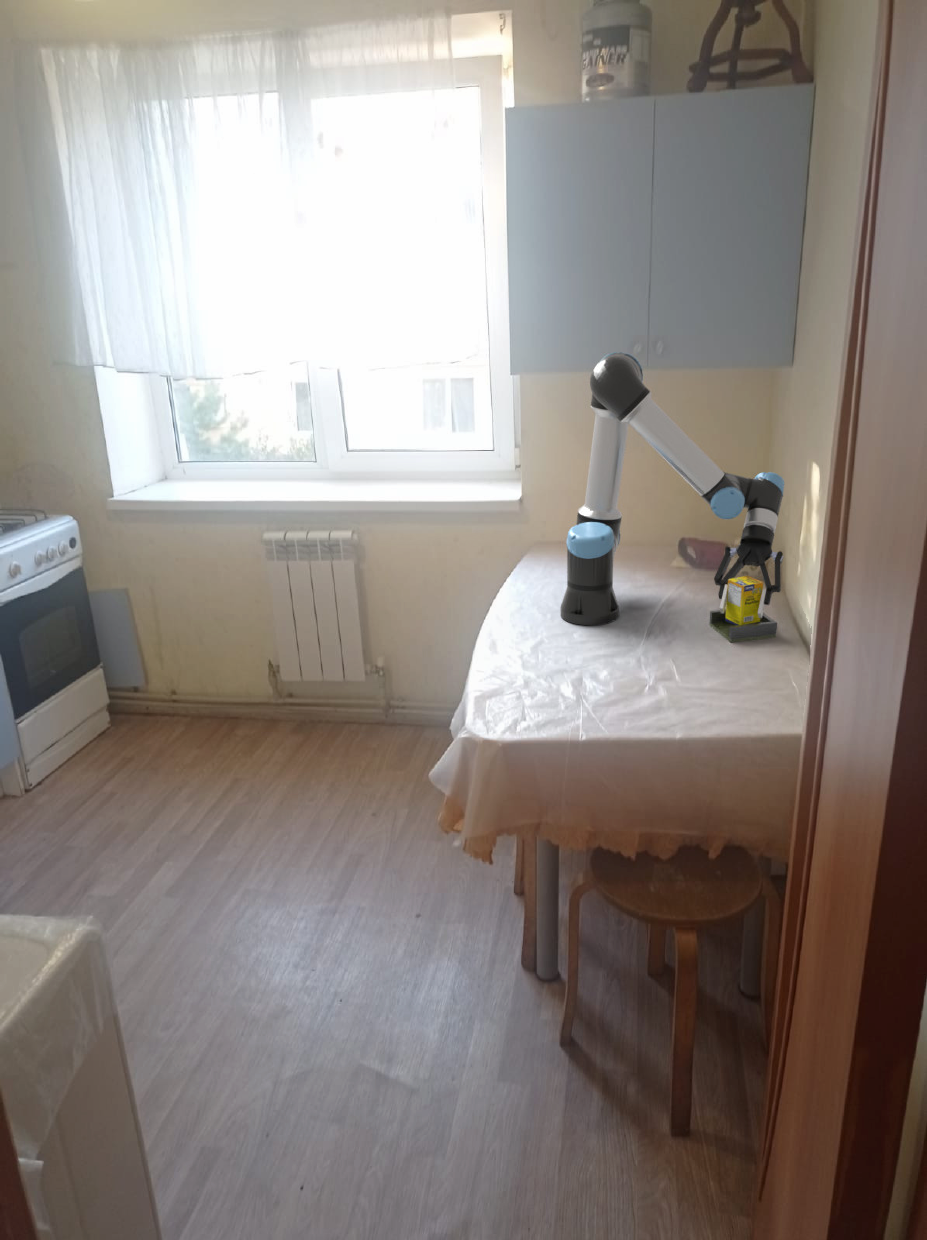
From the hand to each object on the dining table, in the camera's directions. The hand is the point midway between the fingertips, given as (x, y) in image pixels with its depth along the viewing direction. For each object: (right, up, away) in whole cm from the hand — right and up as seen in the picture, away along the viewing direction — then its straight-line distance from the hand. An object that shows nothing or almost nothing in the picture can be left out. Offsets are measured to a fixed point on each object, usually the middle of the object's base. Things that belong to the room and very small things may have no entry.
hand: (740, 613), depth 210 cm
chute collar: (+2, -4, +5) cm, 7 cm away
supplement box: (+2, -2, +4) cm, 5 cm away
